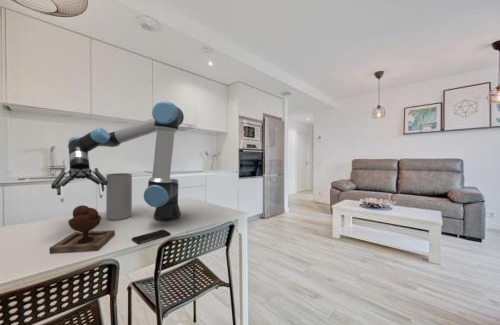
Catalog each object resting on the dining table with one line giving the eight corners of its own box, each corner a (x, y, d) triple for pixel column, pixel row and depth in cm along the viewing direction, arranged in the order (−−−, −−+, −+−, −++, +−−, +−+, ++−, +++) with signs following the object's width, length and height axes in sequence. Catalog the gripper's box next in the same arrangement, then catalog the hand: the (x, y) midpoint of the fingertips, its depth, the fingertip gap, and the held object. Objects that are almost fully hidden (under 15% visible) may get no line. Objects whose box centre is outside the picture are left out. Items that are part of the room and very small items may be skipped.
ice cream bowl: (80, 248, 82) (80, 210, 81) (62, 243, 86) (61, 206, 85) (107, 238, 92) (107, 204, 91) (89, 234, 96) (89, 201, 95)
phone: (171, 233, 100) (138, 243, 89) (171, 235, 100) (138, 245, 89) (162, 229, 105) (130, 237, 94) (162, 231, 105) (130, 240, 94)
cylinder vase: (120, 213, 132) (120, 172, 130) (136, 215, 128) (136, 174, 127) (100, 219, 120) (100, 174, 118) (118, 221, 116) (118, 176, 115)
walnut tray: (114, 234, 98) (114, 230, 98) (97, 250, 83) (97, 245, 83) (75, 236, 95) (75, 231, 95) (49, 253, 79) (49, 247, 79)
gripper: (108, 166, 115) (114, 199, 105) (44, 168, 98) (43, 207, 88) (110, 157, 111) (116, 190, 101) (43, 157, 94) (43, 196, 84)
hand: (82, 198), depth 94 cm, fingers open, 13 cm apart
